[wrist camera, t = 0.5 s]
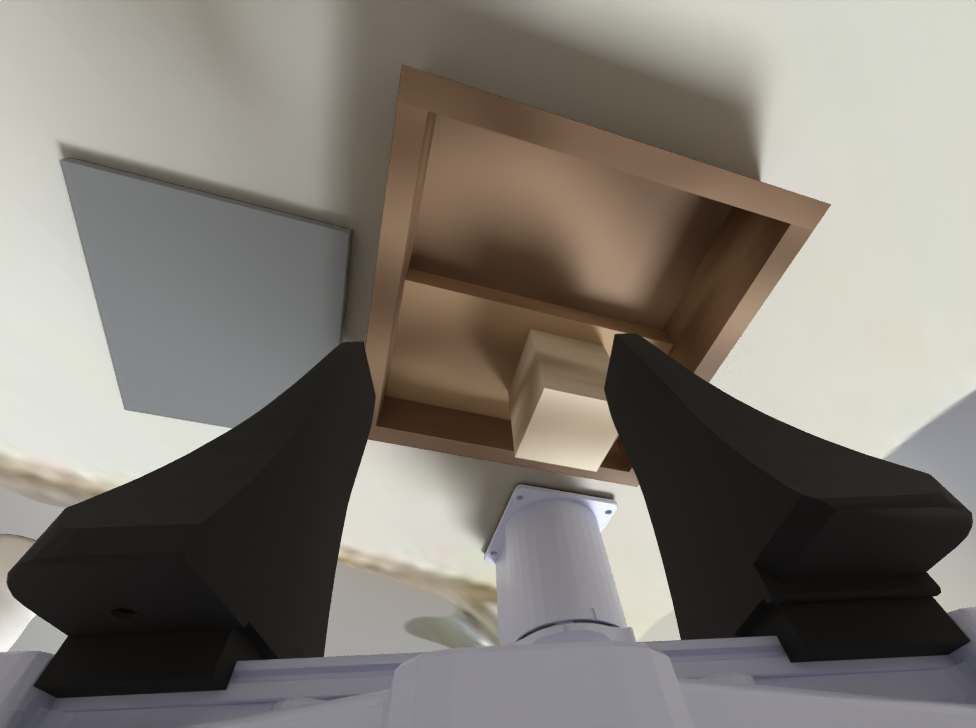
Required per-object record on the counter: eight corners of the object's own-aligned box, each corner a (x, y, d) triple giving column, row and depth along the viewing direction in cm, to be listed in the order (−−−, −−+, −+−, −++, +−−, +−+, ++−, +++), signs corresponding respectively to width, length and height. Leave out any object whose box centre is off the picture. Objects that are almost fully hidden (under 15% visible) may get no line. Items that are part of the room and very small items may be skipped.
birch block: (575, 404, 23) (596, 471, 19) (507, 390, 23) (514, 457, 19) (603, 346, 21) (634, 407, 17) (530, 329, 21) (544, 388, 17)
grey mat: (332, 438, 27) (330, 445, 27) (131, 403, 25) (124, 409, 25) (352, 230, 20) (349, 233, 19) (71, 157, 18) (59, 159, 17)
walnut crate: (615, 433, 27) (637, 486, 24) (372, 385, 25) (353, 436, 21) (761, 183, 19) (831, 204, 15) (419, 71, 17) (402, 64, 13)
